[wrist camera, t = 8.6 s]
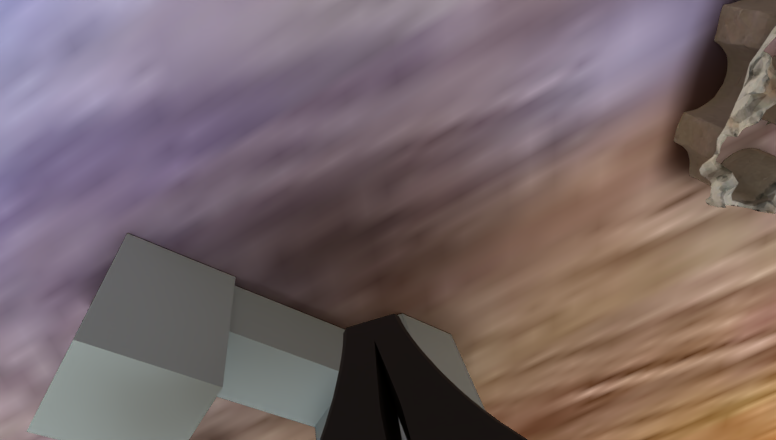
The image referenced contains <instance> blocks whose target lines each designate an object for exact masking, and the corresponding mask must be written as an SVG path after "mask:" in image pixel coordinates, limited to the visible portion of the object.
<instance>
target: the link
mask: <svg viewBox="0 0 776 440" xmlns="http://www.w3.org/2000/svg"><path fill="white" fill-rule="evenodd" d="M235 278H236V277H234V276H231V275H229V274H226V273H224V272H221V271H219V270H217V269H214V268H212V267H209V266H207V265H204V264H202V263H199V262H197V261H194V260H192V259H189V258H187V257H185V256H182V255H180V254H177V253H175V252H172V251H170V250H167V249H165V248H162V247H160V246H158V245H155V244H153V243H150V242H148V241H145V240H143V239H140V238H138V237H135V236H133V235H130V234H128V233H127V235H126V237H125V239H124V241H123V243H122V245H121V247H120V249H119V250H118V252H117V254H116V256H115V258H114V260H113V262H112V264H111V266H110V268H109V270H108V272H107V274H106V276H105V278H104V280H103V282H102V284H101V286H100V288H99V290H98V292H97V294H96V296H95V298H94V300H93V301H92V303H91V305H90V307H89V309H88V311H87V313H86V315H85V317H84V319H83V321H82V323H81V325H80V327H79V329H78V331H77V333H76V335H75V337H74V339H73V341H72V343H71V345H70V347H69V349H68V351H67V353H66V355H65V357H64V359H63V361H62V363H61V365H60V367H59V369H58V371H57V373H56V375H55V377H54V378H53V380H52V382H51V384H50V386H49V388H48V390H47V392H46V394H45V396H44V398H43V400H42V402H41V404H40V406H39V408H38V410H37V412H36V414H35V416H34V418H33V420H32V422H31V424H30V426H29V428H28V430H27V432H29V433H33V434H37V435H41V436H46V437H50V438H54V439H58V440H189V439H190V437H191V436H192V434H193V433H194V431H195V430H196V428H197V427H198V425H199V423H200V422H201V420H202V419H203V417H204V416H205V414H206V413H207V411H208V409H209V408H210V406H211V405H212V403H213V402H214V400H215V399H216V397H219V398H223V399H226V400H229V401H232V402H235V403H239V404H242V405H245V406H248V407H252V408H255V409H258V410H261V411H264V412H268V413H271V414H274V415H277V416H280V417H284V418H287V419H290V420H293V421H297V422H300V423H303V424H306V425H309V426H313V427H315V431H316V440H320V437H321V435H322V432H323V429H324V426H325V423H326V419H327V416H328V412H329V409H330V406H331V402H332V399H333V395H334V391H335V386H336V382H337V377H338V373H339V368H340V362H341V356H342V347H343V333H344V331H345V329H342V328H340V327H337V326H335V325H332V324H330V323H327V322H325V321H322V320H320V319H317V318H315V317H312V316H310V315H307V314H305V313H302V312H300V311H297V310H295V309H292V308H290V307H287V306H285V305H282V304H280V303H277V302H275V301H272V300H270V299H267V298H265V297H262V296H260V295H257V294H255V293H252V292H250V291H247V290H245V289H242V288H240V287H237V286H235ZM397 316H399V317H400V319H401V321H402V323H403V325H404V327H405V328H406V330H407V331H408V333H409V334H410V335H411V337H412V338H413V340H414V341H415V342H416V343H417V345H418V346H419V347H420V348H421V350H422V351H423V352H424V353H425V354H426V355H427V357H428V358H429V359H430V360H431V361H432V362H433V363H434V364H435V365H436V366H437V368H438V369H439V370H440V371H441V372H442V373H443V374H444V375H445V376H446V377H447V378H448V379H449V380H450V381H451V382H453V383H454V384H455V385H456V386H457V387H458V388H459V389H460V390H461V391H462V392H463V393H464V394H466V395H467V396H468V397H469V398H470V399H471V400H473V401H474V402H475V403H476V404H478V405H479V406H480V407H481V408H483V409H484V407H483V404H482V402H481V400H480V398H479V395H478V393H477V391H476V389H475V387H474V384H473V382H472V380H471V378H470V375H469V373H468V371H467V369H466V366H465V364H464V362H463V360H462V358H461V355H460V353H459V351H458V349H457V346H456V344H455V342H454V340H453V337H452V335H451V334H448V333H446V332H444V331H441V330H439V329H437V328H434V327H432V326H430V325H427V324H425V323H423V322H421V321H418V320H416V319H414V318H411V317H409V316H407V315H404V314H399V315H397ZM484 410H485V409H484ZM398 418H399V417H398ZM399 424H400V430H401V436H402V440H407V439H406V436H405V433H404V431H403V428H402V425H401V423H400V420H399Z"/></svg>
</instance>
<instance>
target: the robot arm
mask: <svg viewBox="0 0 776 440" xmlns="http://www.w3.org/2000/svg"><path fill="white" fill-rule="evenodd" d="M398 417H399V418H398ZM399 420H400V423H401V425H402V428H403V431H404V433H405V436H406V439H407V440H527V439H526V438H524V437H523V436H521V435H520V434H518V433H516V432H515V431H513V430H512V429H510V428H509V427H507V426H506V425H504V424H503V423H501V422H500V421H498V420H497V419H496V418H494V417H493V416H492V415H490V414H489V413H488V412H486V411H485V410H484V409H483V408H481V407H480V406H479V405H478V404H476V403H475V402H474V401H473V400H471V399H470V398H469V397H468V396H467V395H466V394H464V393H463V392H462V391H461V390H460V389H459V388H458V387H457V386H456V385H455V384H454V383H453V382H451V381H450V380H449V379H448V378H447V377H446V376H445V375H444V374H443V373H442V372H441V371H440V370H439V369H438V368H437V366H436V365H435V364H434V363H433V362H432V361H431V360H430V359H429V358H428V357H427V355H426V354H425V353H424V352H423V351H422V350H421V348H420V347H419V346H418V345H417V343H416V342H415V341H414V340H413V338H412V337H411V335H410V334H409V333H408V331H407V330H406V328H405V327H404V325H403V323H402V321H401V319H400V317H399V316H397V315H395V314H392V315H388V316H385V317H382V318H378V319H375V320H372V321H368V322H365V323H362V324H359V325H355V326H352V327H349V328H346V330H345V331H344V333H343V347H342V356H341V362H340V368H339V373H338V377H337V382H336V386H335V391H334V395H333V399H332V402H331V406H330V409H329V412H328V416H327V419H326V423H325V426H324V429H323V432H322V435H321V437H320V440H402V436H401V430H400V424H399Z"/></svg>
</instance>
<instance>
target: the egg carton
mask: <svg viewBox="0 0 776 440" xmlns="http://www.w3.org/2000/svg"><path fill="white" fill-rule="evenodd" d="M775 37H776V0H740V1H737V2H734V3H732V4H725V5H723V7H722V10H721V14H720V18H719V23H718V28H717V33H716V35H715V40H714V41H715V42H716V43H718V44H719V45H720V46H721V47H722V48H723V50H724V51H725V53H726V54H727V61H728V65H727V74H726V77H725V80H724V83H723V85H722V86H721V88H720V89H719V91H718V92H717V94H716V95H715V97H714V98H713V99H711V100H710V101H709V102H707V103H706V104H705V105H703V106H701V107H700V108H698V109H695V110H692V111H687V112H684V113H683V115H682V117H681V119H680V121H679V123H678V126H677V129H676V133H675V138H674V142H676V143H677V144H679V145H681V146H683V147H684V148H685V149H686V151H687V152H688V155H689V160H690V164H689V176H691V177H694V178H696V179H698V180H700V181H702V182H704V183H706V184H708V185H710V186H711V195H710V197H709V198H708V199H706V203H707V204H708V205H712V206H716V207H723V208H726V206H725V205H731V206H739V207H744V208H750V209H753V210H757V211H760V212H765V213H772V214H775V213H776V157H775V156H773V155H771V154H768V153H766V152H764V151H761V150H759V149H755V148H747V149H742V150H740V151H738V152H736V153H734V154H732V155H730V156H729V157H728V158H727V159H725V160H724V161H723V162H722V164H719V163H718V162H716V158H717V156H718V155H719V153H720V147H721V145H722V143H723V142H724V140H725V139H726V138H727V136H732V137H738V136H739V134H740V133H741V131H742V130H743V129H744V128H746V127H749V126H751V125H754V124H756V123H758V122H759V121H760V120H761V119H764V120H766V121H769V122H768V123H767V124H769V123H774V124H776V56H774V57H773V58H772V57H771V56H770V54H768V53H766V52H764V49H765V48H766V47H767V46H768V44H769V43H770V42H771V41H772V40H773V39H774V38H775ZM767 124H766V125H767Z"/></svg>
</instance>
